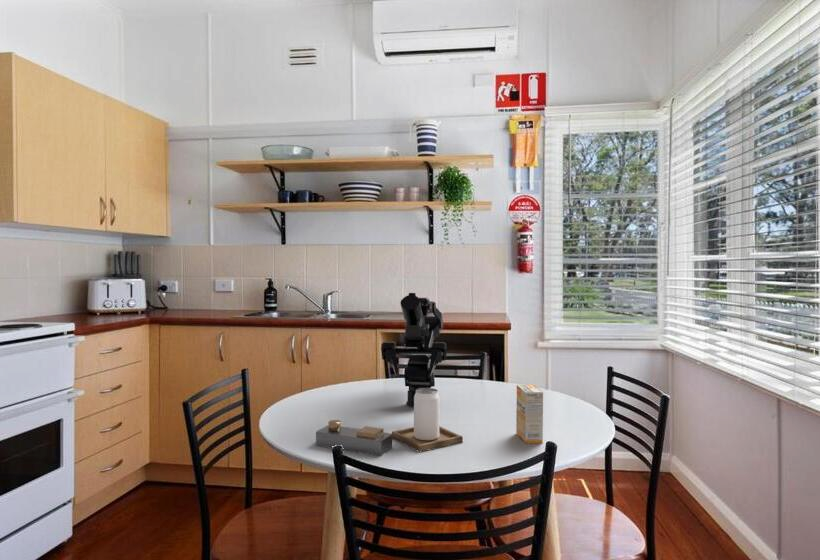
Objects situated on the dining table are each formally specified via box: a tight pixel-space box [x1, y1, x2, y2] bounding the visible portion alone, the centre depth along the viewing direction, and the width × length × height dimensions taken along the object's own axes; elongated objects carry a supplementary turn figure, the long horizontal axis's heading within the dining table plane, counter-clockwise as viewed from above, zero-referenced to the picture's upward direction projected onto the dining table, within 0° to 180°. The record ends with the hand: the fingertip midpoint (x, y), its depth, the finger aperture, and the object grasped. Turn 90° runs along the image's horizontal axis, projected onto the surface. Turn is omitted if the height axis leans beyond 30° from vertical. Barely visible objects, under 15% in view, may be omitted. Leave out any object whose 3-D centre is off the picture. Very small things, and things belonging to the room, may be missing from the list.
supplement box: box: [515, 384, 544, 444], centre depth 137 cm, size 8×5×13 cm, turn 5°
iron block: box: [315, 419, 393, 457], centre depth 130 cm, size 18×6×6 cm, turn 67°
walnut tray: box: [391, 425, 464, 453], centre depth 136 cm, size 13×13×2 cm
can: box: [413, 387, 440, 441], centre depth 136 cm, size 6×6×12 cm
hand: (413, 375), depth 148 cm, fingers open, 9 cm apart
